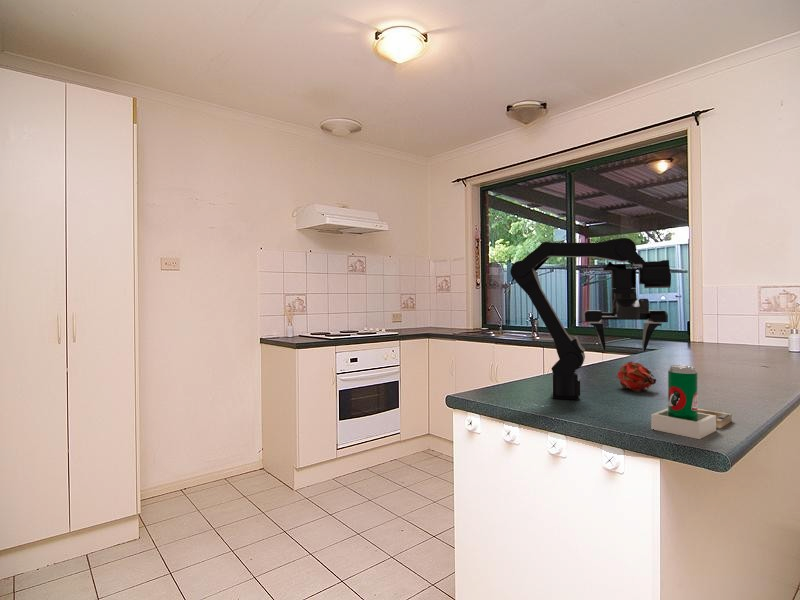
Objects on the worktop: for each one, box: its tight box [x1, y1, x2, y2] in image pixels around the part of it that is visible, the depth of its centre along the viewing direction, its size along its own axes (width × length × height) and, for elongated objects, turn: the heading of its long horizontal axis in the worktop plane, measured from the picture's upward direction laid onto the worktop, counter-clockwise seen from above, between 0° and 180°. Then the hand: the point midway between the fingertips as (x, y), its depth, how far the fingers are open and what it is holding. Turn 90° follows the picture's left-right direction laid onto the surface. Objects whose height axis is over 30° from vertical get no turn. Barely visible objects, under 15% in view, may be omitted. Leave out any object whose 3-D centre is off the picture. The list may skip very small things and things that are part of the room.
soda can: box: [667, 364, 699, 422], centre depth 92 cm, size 5×5×12 cm
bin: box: [650, 407, 717, 440], centre depth 92 cm, size 9×9×3 cm
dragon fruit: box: [616, 361, 657, 393], centre depth 131 cm, size 8×8×12 cm
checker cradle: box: [698, 408, 733, 429], centre depth 99 cm, size 8×8×2 cm
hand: (623, 350), depth 117 cm, fingers open, 9 cm apart
